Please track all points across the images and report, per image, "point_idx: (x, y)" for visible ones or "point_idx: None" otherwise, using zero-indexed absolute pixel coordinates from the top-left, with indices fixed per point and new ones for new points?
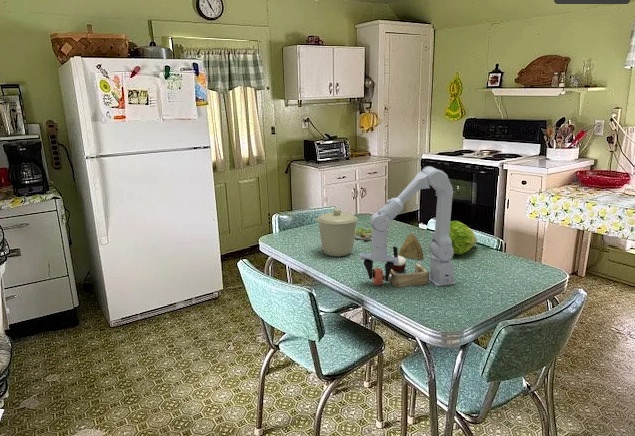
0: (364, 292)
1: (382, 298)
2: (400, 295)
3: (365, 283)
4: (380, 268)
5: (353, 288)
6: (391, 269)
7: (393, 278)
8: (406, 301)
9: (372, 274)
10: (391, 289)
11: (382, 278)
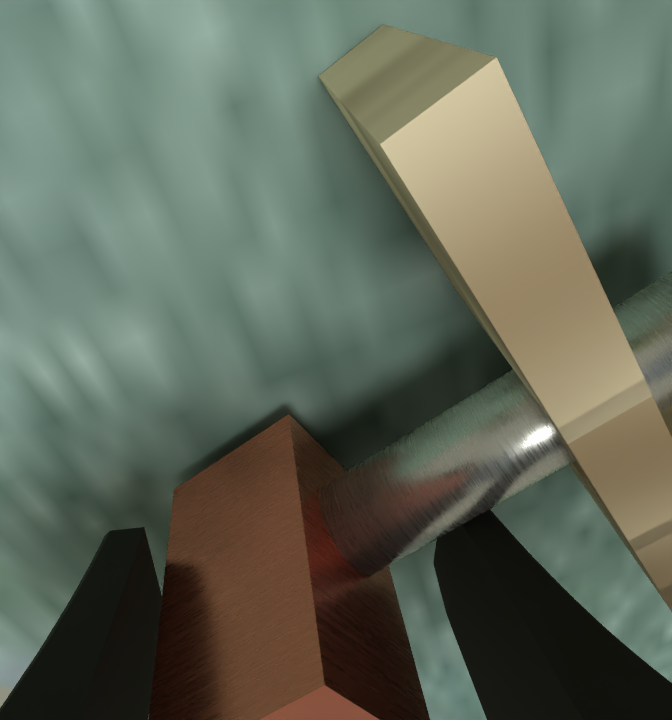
0: None
1: (434, 700)
2: (618, 595)
3: (61, 506)
4: (339, 698)
5: (6, 675)
6: (599, 340)
7: (586, 485)
8: (667, 657)
9: (132, 574)
10: (507, 519)
11: (387, 588)
